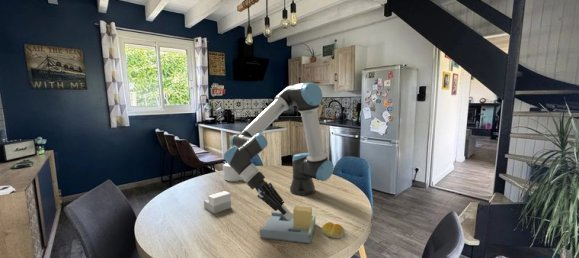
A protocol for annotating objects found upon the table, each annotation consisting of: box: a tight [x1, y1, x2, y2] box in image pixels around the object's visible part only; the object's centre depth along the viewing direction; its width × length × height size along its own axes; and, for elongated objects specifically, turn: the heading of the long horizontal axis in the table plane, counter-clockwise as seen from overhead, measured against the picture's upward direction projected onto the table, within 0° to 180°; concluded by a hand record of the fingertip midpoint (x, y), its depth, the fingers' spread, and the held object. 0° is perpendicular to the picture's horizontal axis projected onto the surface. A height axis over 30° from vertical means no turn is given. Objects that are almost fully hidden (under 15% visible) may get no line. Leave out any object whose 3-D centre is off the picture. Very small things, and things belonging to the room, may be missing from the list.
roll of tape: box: [223, 162, 244, 182], centre depth 175 cm, size 16×15×11 cm
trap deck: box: [259, 211, 316, 245], centre depth 102 cm, size 20×16×4 cm
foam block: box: [203, 190, 232, 214], centre depth 125 cm, size 10×10×8 cm
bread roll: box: [321, 222, 346, 240], centre depth 99 cm, size 8×9×4 cm
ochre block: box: [292, 205, 313, 229], centre depth 100 cm, size 7×4×8 cm, turn 77°
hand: (291, 218), depth 101 cm, fingers closed
